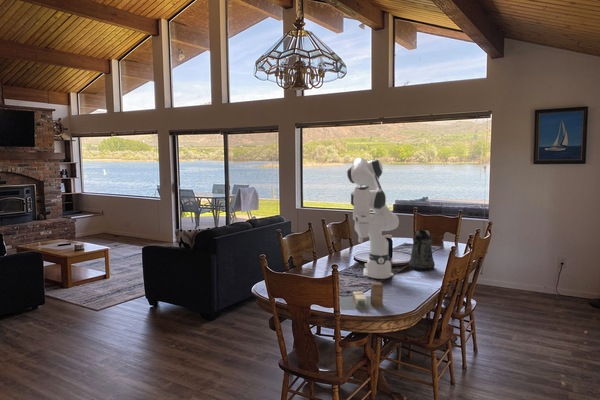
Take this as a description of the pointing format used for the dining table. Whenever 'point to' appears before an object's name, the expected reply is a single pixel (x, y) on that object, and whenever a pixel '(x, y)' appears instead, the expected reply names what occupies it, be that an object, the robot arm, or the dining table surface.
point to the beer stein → (421, 253)
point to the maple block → (359, 299)
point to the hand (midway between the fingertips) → (360, 242)
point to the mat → (348, 304)
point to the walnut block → (376, 294)
